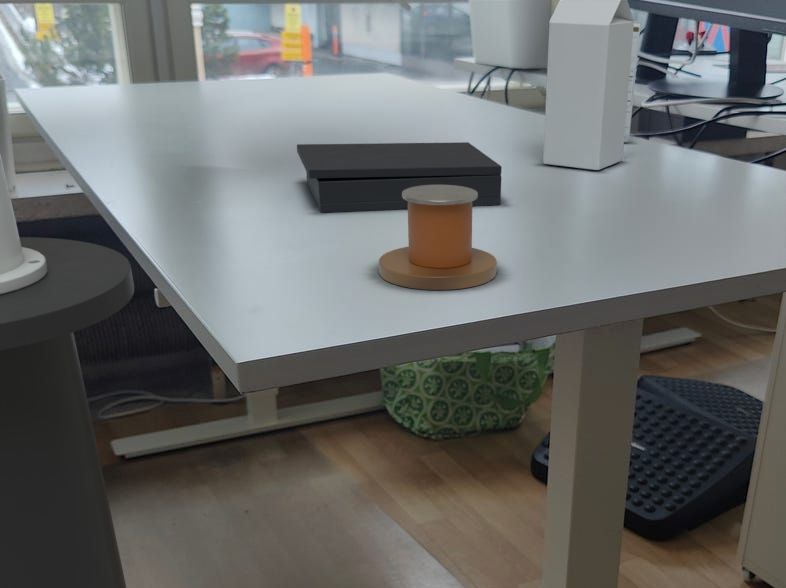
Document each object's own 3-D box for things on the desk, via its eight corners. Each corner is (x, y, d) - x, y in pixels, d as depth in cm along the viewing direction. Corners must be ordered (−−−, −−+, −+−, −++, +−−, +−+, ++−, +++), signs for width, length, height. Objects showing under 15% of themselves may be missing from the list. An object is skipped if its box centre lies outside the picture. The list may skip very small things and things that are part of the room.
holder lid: (309, 178, 88) (308, 169, 88) (297, 152, 99) (296, 144, 99) (501, 174, 92) (501, 166, 92) (468, 149, 104) (468, 142, 103)
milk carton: (598, 171, 109) (612, -19, 99) (542, 165, 112) (550, -20, 102) (622, 162, 114) (638, -20, 104) (568, 156, 117) (578, -21, 107)
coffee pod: (411, 272, 70) (409, 202, 68) (397, 251, 75) (395, 186, 72) (484, 267, 71) (486, 199, 69) (467, 248, 76) (467, 183, 73)
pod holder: (320, 212, 90) (318, 182, 88) (307, 183, 101) (305, 155, 100) (500, 204, 94) (501, 175, 92) (468, 177, 105) (468, 150, 104)
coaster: (390, 293, 69) (389, 280, 68) (371, 259, 76) (370, 247, 76) (510, 286, 71) (510, 272, 70) (480, 253, 78) (480, 241, 78)
